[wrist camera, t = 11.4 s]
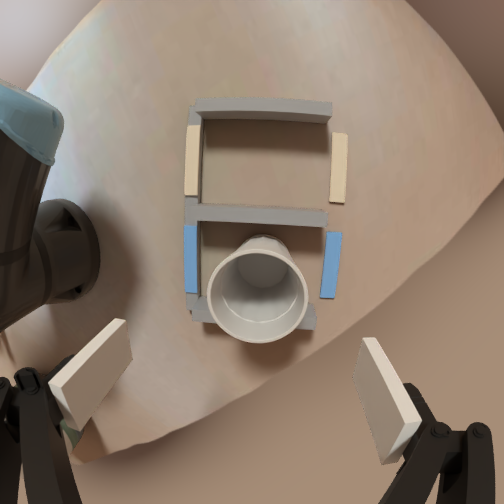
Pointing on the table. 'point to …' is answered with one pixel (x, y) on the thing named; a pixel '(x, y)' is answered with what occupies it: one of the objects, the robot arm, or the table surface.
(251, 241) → the cup
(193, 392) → the table surface
